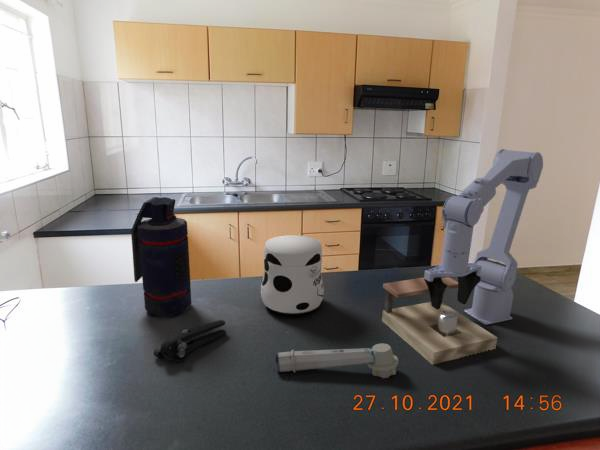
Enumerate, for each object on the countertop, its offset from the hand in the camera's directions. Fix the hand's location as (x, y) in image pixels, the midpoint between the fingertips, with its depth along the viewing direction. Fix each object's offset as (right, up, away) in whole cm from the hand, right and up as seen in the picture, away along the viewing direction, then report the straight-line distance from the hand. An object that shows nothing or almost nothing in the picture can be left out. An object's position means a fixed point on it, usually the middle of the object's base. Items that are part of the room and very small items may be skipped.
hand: (448, 304), depth 95 cm
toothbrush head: (-27, -12, -9) cm, 31 cm away
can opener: (-59, -10, -2) cm, 59 cm away
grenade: (-71, -4, +15) cm, 73 cm away
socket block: (-1, -8, +5) cm, 10 cm away
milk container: (-37, -4, +18) cm, 41 cm away
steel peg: (0, -9, +2) cm, 9 cm away
